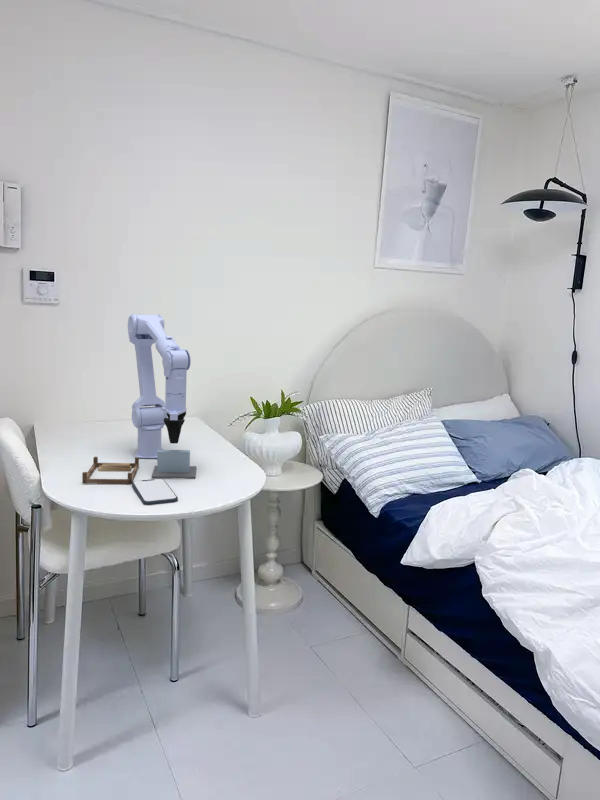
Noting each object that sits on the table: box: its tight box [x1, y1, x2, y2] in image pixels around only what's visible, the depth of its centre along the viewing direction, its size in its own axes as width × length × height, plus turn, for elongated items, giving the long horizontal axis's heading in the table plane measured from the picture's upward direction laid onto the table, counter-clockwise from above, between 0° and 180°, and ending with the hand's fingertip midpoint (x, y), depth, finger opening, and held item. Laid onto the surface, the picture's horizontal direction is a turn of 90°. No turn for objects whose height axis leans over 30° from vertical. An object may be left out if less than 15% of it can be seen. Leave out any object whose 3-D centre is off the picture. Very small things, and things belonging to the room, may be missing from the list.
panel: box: [156, 449, 191, 472], centre depth 169 cm, size 2×9×6 cm, turn 98°
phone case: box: [131, 478, 179, 506], centre depth 152 cm, size 9×2×16 cm
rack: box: [81, 456, 140, 485], centre depth 164 cm, size 16×13×3 cm
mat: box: [151, 465, 197, 480], centre depth 169 cm, size 10×12×1 cm
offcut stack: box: [97, 462, 133, 472], centre depth 169 cm, size 3×9×2 cm, turn 98°
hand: (174, 439), depth 168 cm, fingers open, 7 cm apart
